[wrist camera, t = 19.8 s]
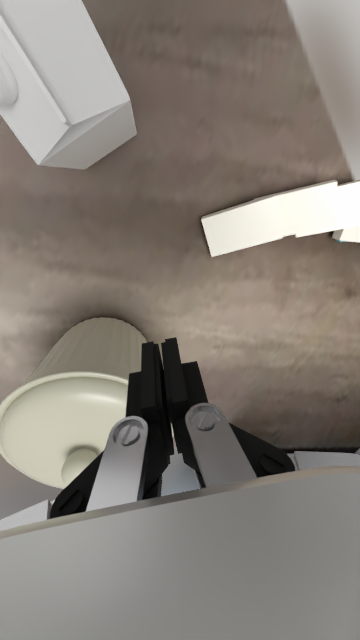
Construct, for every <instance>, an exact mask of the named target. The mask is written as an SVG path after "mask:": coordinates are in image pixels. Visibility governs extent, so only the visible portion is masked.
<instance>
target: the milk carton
mask: <svg viewBox="0 0 360 640" xmlns="http://www.w3.org/2000/svg"><path fill="white" fill-rule="evenodd" d="M0 115H1V116H2V117H3V119H4V120H5V121H6V123H7V124H8V126H9V127H10V128H11V130H12V131H13V133H14V134H15V135H16V137H17V138H18V139H19V141H20V142H21V144H22V145H23V146H24V148H25V149H26V150H27V152H28V153H29V154H30V156H31V157H32V158H33V160H34V161H35V162H36V163H37V164H38V165H42V166H51V167H62V168H72V169H83V170H85V169H87V168H88V167H90V166H91V165H93V164H94V163H96V162H97V161H99V160H100V159H101V158H103V157H104V156H106V155H107V154H109V153H110V152H112V151H113V150H115V149H116V148H118V147H119V146H121V145H122V144H123V143H125V142H126V141H128V140H129V139H131V138H132V137H134V136H135V135H137V130H136V126H135V121H134V116H133V111H132V106H131V101H130V97H129V95H128V93H127V91H126V89H125V87H124V84H123V82H122V80H121V78H120V76H119V74H118V72H117V70H116V68H115V66H114V64H113V62H112V60H111V58H110V56H109V54H108V52H107V50H106V48H105V46H104V44H103V42H102V40H101V38H100V36H99V34H98V32H97V30H96V28H95V26H94V24H93V22H92V20H91V18H90V16H89V14H88V12H87V10H86V8H85V6H84V4H83V2H82V0H0Z"/></svg>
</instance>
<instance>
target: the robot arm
mask: <svg viewBox="0 0 360 640" xmlns="http://www.w3.org/2000/svg"><path fill="white" fill-rule="evenodd" d="M161 345H162V356H163V364H162V360H161V355H160V350H159V346H158V344H154V343H153V342H147V343H142V350H141V371H139V372H134V373H130V374H129V380H128V392H127V404H126V415H125V418H123V419H121V420H120V421H118V422H117V423H116V424H115V425H114V426H113V427H112V429H111V431H110V433H109V436H108V440H107V443H106V446H105V449H104V451H102V452H101V453H100V454H99V455H98V456H97V457H96V458H95V459H94V460H93V461H92V462H91V463H90V464H89V465H88V466H87V467H86V468H85V469H84V470H83V471H82V472H81V473H80V474H79V475H78V476H77V477H76V478H75V479H74V480H73V481H72V482H71V483H70V484H69V485H68V486H67V487H66V488H65V489H64V490H63V491H62V492H61V493H60V494H59V495H58V497H57V498H56V499H55V500H53V501H51V502H50V501H49V500H48V499H47V500H46V501H43V502H40V503H39V504H36V505H33V506H31V507H29V508H26V509H24V510H22V511H19V512H17V513H15V514H12V515H10V516H8V517H6V518H3V519H1V520H0V640H360V456H359V455H356V454H351V453H329V452H302V451H295V453H294V454H286V453H285V452H284V451H282V450H281V449H279V448H277V447H275V446H273V445H271V444H269V443H267V442H265V441H263V440H261V439H259V438H257V437H255V436H253V435H252V434H250V433H248V432H246V431H244V430H242V429H240V428H238V427H236V426H234V425H232V424H230V423H228V421H227V419H226V417H225V416H224V414H223V412H222V411H221V409H220V408H219V407H217V406H216V405H214V404H211V403H208V400H207V396H206V393H205V389H204V385H203V382H202V378H201V374H200V371H199V367H198V364H197V361H195V362H189V363H184V364H181V360H180V355H179V349H178V344H177V339H176V338H170V339H165V342H164V343H161ZM163 366H164V369H163ZM171 424H172V426H171ZM172 428H173V433H174V437H175V442H176V446H177V451H178V454H179V453H182V455H183V460H184V463H185V464H187V465H188V466H190V467H191V468H193V469H194V471H195V475H196V478H197V481H198V484H199V488H200V489H197V490H192V491H187V492H182V493H177V494H171V495H166V496H161V490H162V473H163V472H164V470H165V469H166V468H167V466H168V464H170V455H174V446H173V436H172Z"/></svg>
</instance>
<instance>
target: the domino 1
mask: <svg viewBox="0 0 360 640" xmlns="http://www.w3.org/2000/svg"><path fill="white" fill-rule="evenodd" d="M201 221H202V224H203V228H204V232H205V235H206V239H207V242H208V246H209V249H210V253H211V257H214V256H217V255H221V254H225V253H229V252H232V251H236V250H240V249H244V248H247V247H251V246H255V245H259V244H262V243H266V242H270V241H274V240H277V239H281V238H283V235H282V227H281V219H280V211H279V204H278V196H277V194H276V193H274V194H271V195H268V196H265V197H262V198H259V199H255V200H252V201H249V202H246V203H243V204H240V205H237V206H234V207H230V208H227V209H224V210H221V211H218V212H215V213H212V214H208V215H205V216H202V218H201Z"/></svg>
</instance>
